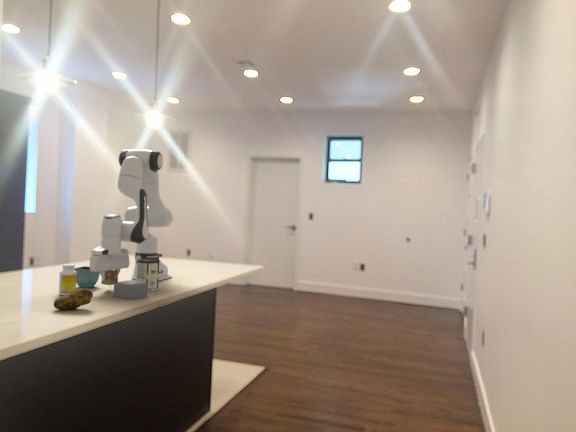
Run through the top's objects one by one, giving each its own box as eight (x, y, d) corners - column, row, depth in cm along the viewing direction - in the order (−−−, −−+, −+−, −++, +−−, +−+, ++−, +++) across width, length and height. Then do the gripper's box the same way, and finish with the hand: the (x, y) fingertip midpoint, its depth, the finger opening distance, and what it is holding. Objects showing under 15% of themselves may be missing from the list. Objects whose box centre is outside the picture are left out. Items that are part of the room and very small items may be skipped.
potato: (58, 306, 187) (59, 285, 187) (93, 307, 189) (94, 286, 189) (51, 311, 179) (52, 289, 179) (88, 312, 181) (89, 290, 181)
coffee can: (144, 286, 241) (145, 257, 241) (162, 288, 238) (163, 259, 238) (131, 289, 232) (132, 259, 231) (149, 291, 228) (151, 261, 228)
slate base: (130, 293, 221) (131, 279, 221) (147, 296, 216) (148, 282, 216) (113, 296, 212) (114, 281, 212) (130, 299, 207) (130, 284, 207)
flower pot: (89, 289, 227) (90, 269, 227) (72, 287, 228) (73, 268, 228) (100, 286, 235) (101, 267, 235) (83, 284, 237) (84, 266, 237)
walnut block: (110, 282, 229) (110, 269, 229) (117, 283, 226) (118, 270, 226) (101, 283, 225) (101, 270, 224) (109, 285, 222) (109, 272, 222)
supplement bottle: (78, 295, 211) (79, 265, 211) (62, 296, 207) (63, 266, 206) (71, 292, 216) (73, 263, 216) (56, 293, 211) (57, 264, 211)
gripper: (123, 247, 235) (122, 275, 236) (87, 250, 218) (86, 281, 218) (133, 248, 232) (131, 277, 233) (97, 252, 214) (96, 283, 215)
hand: (109, 279), depth 225 cm, fingers closed on walnut block, 5 cm apart
